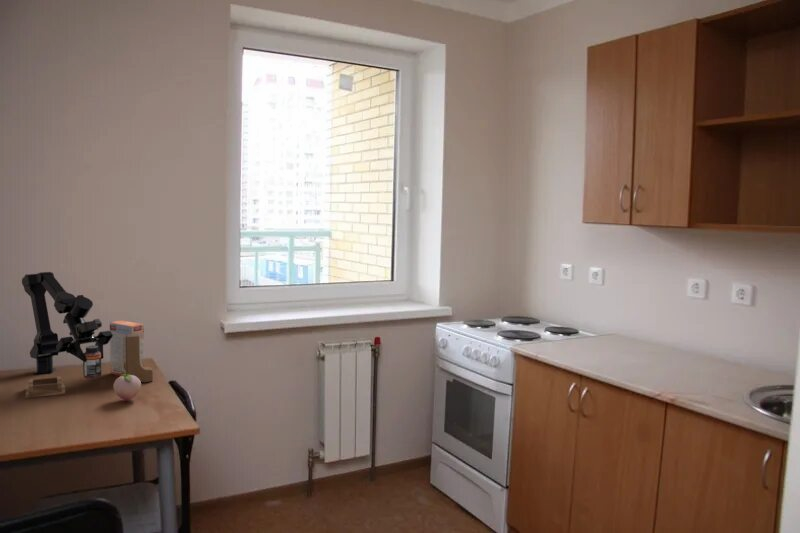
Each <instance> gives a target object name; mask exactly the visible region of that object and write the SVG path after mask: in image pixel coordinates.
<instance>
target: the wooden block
mask: <svg viewBox="0 0 800 533" xmlns="http://www.w3.org/2000/svg"><path fill="white" fill-rule="evenodd" d="M126 372H127V374H129V375H134V376H136V377H137V378H138V379H139V380H140V381H141V382H142V383H150V382H149V381H152V382H153V381H154V380H153V379H154V377H153V376H154V375H153V374H154V372H153V368H152V367H150V366H144V367H143V366H142V365H141V364H140V341H139V335H138V334H131V335H126Z"/></svg>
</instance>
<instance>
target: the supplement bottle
mask: <svg viewBox="0 0 800 533" xmlns="http://www.w3.org/2000/svg"><path fill="white" fill-rule="evenodd" d="M83 353H84V355H85V357H86V360H87V361H86V362H83V361H82V368H83V369H82V370H83V373H82V374H83V378H85V379H88V380H90V379H92V380H93V379H97V378H100V377H101V376H102V359H101V353H100V352H99V351H98V346H95V345H87V346H85V352H83Z"/></svg>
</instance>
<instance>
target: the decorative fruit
mask: <svg viewBox="0 0 800 533" xmlns="http://www.w3.org/2000/svg"><path fill="white" fill-rule="evenodd" d="M112 386H113V390H114V392H115V394H116V396H118V398H120V399H122V400H124V401H126V402H128V401H130V400H132V399H134V398H136V396H137V395H138V394H139V393H140V391H141V390H142V383H141V381H140V380H139V379H138V378H137V377H136V376H134V375H129V374H127V372H126V374H122V375H121V376H119V377H117V378H116V379H115V381H114V382H113V385H112Z"/></svg>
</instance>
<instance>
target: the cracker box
mask: <svg viewBox="0 0 800 533" xmlns="http://www.w3.org/2000/svg"><path fill="white" fill-rule="evenodd" d="M109 331H111V332H112V334H113V336H112V338H111V339H110V341H109V364H110V368H109V371H110V372H109V373H110V374H112V375H115V376H119V377H120V376H121V375H122V374H126V335H131V334H138V335H139V341H140V364H141V365H142V366H143V367H145V352H144V351H145V348H144V346H145V342H144V341H145V338H144V337H145V336H144V335H145V333H144V332H145V329H144V324H143V323H138V322H133V321H125V320H115V321H110V322H109Z"/></svg>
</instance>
